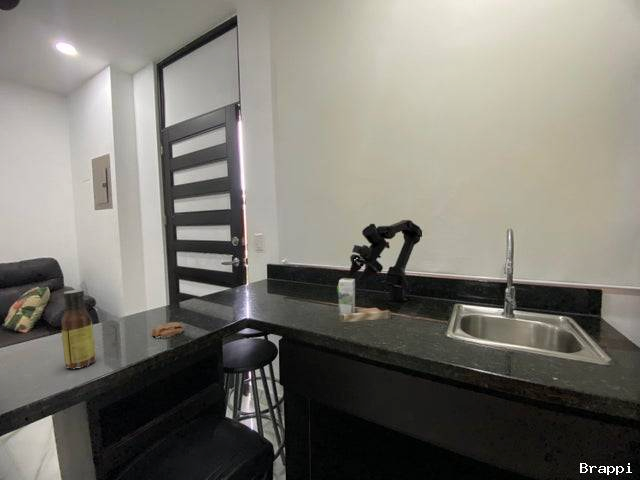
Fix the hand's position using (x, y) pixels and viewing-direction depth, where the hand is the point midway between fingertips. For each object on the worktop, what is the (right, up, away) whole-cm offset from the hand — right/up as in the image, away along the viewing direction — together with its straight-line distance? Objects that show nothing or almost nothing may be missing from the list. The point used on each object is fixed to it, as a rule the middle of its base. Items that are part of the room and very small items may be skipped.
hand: (353, 278), depth 121 cm
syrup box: (-3, -14, -6) cm, 16 cm away
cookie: (-66, -16, -23) cm, 72 cm away
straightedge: (+3, -14, -12) cm, 19 cm away
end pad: (+6, -14, -4) cm, 16 cm away
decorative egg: (-2, -13, +21) cm, 24 cm away
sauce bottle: (-78, -17, -45) cm, 92 cm away
